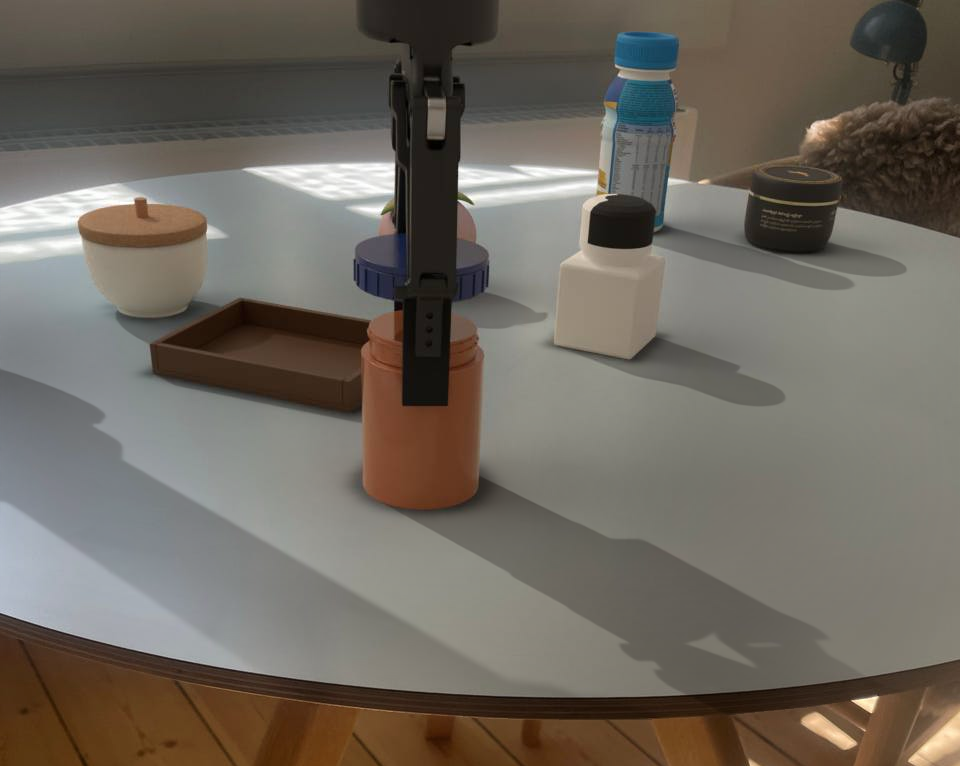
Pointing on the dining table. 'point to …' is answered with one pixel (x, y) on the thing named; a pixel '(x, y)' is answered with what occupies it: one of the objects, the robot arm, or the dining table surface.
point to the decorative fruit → (464, 220)
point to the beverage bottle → (640, 120)
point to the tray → (270, 353)
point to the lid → (386, 267)
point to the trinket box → (146, 256)
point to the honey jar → (420, 422)
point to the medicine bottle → (611, 280)
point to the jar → (791, 208)
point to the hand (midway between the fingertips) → (419, 376)
